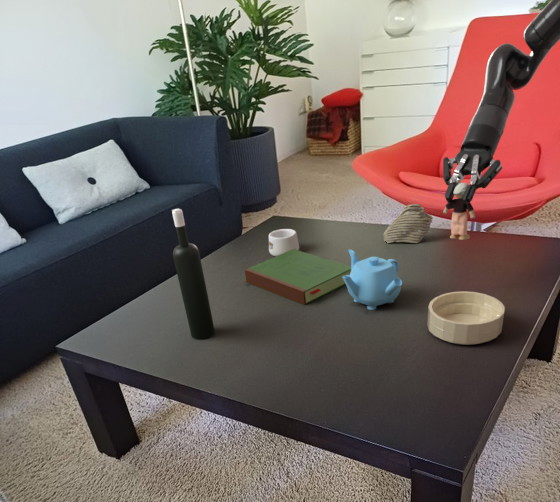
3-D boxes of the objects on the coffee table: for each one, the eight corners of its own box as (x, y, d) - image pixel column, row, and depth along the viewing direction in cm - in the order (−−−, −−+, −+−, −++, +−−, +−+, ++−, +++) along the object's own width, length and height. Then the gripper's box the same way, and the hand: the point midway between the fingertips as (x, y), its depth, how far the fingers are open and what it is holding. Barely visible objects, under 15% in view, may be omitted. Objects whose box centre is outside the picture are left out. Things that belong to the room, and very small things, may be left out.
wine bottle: (217, 327, 128) (194, 204, 111) (210, 339, 123) (184, 213, 107) (195, 327, 129) (169, 206, 113) (187, 339, 125) (158, 214, 108)
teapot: (337, 311, 129) (335, 268, 122) (349, 287, 139) (348, 247, 133) (399, 315, 124) (401, 271, 117) (407, 290, 134) (409, 248, 128)
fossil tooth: (384, 241, 168) (433, 236, 164) (383, 247, 163) (433, 242, 159) (381, 205, 162) (432, 198, 158) (380, 210, 157) (432, 204, 153)
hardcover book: (246, 281, 149) (244, 269, 147) (294, 260, 159) (293, 249, 157) (306, 306, 133) (305, 292, 131) (356, 280, 142) (355, 267, 140)
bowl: (512, 323, 116) (516, 300, 112) (483, 354, 106) (486, 331, 103) (446, 307, 125) (448, 286, 122) (414, 335, 115) (415, 313, 112)
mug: (304, 252, 164) (303, 233, 161) (277, 260, 161) (274, 241, 158) (287, 242, 173) (286, 224, 170) (261, 249, 170) (259, 231, 167)
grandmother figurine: (475, 235, 124) (481, 181, 117) (471, 241, 122) (477, 186, 115) (443, 232, 128) (447, 179, 121) (438, 238, 126) (442, 184, 119)
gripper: (450, 122, 120) (422, 190, 120) (513, 122, 112) (483, 196, 111) (459, 141, 126) (432, 206, 126) (519, 143, 118) (490, 213, 118)
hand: (456, 201), depth 119 cm, fingers closed on grandmother figurine, 3 cm apart
